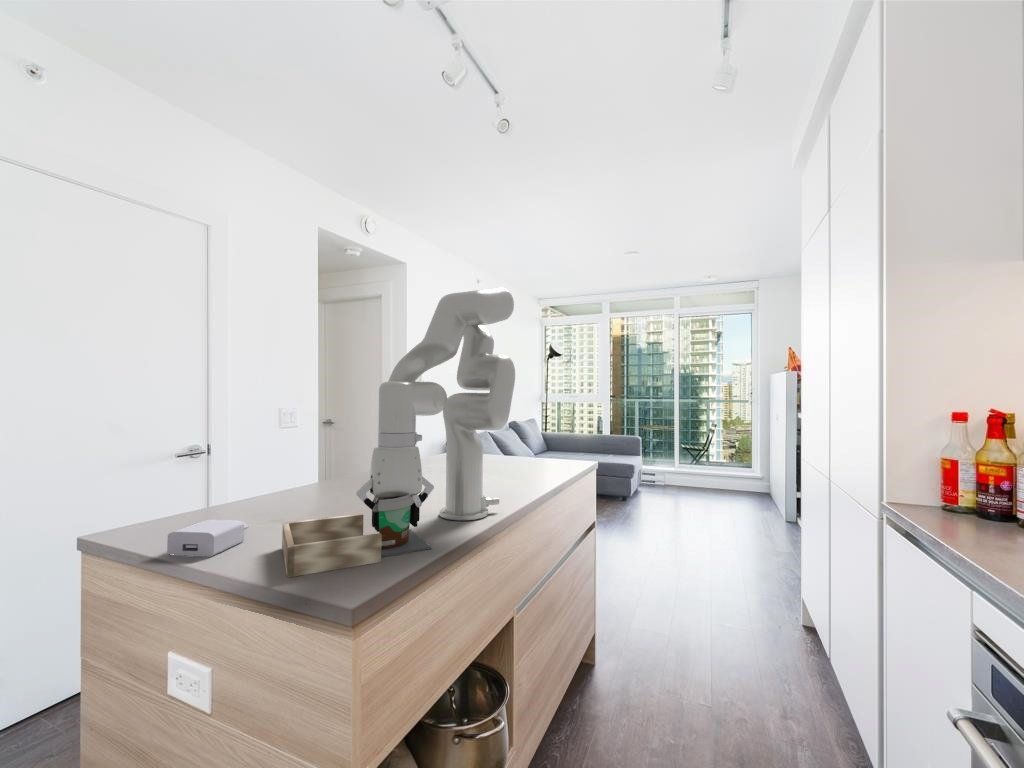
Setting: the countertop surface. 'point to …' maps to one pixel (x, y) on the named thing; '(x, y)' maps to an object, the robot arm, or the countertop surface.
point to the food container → (394, 521)
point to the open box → (328, 545)
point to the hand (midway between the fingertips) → (395, 526)
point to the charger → (206, 538)
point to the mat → (407, 546)
